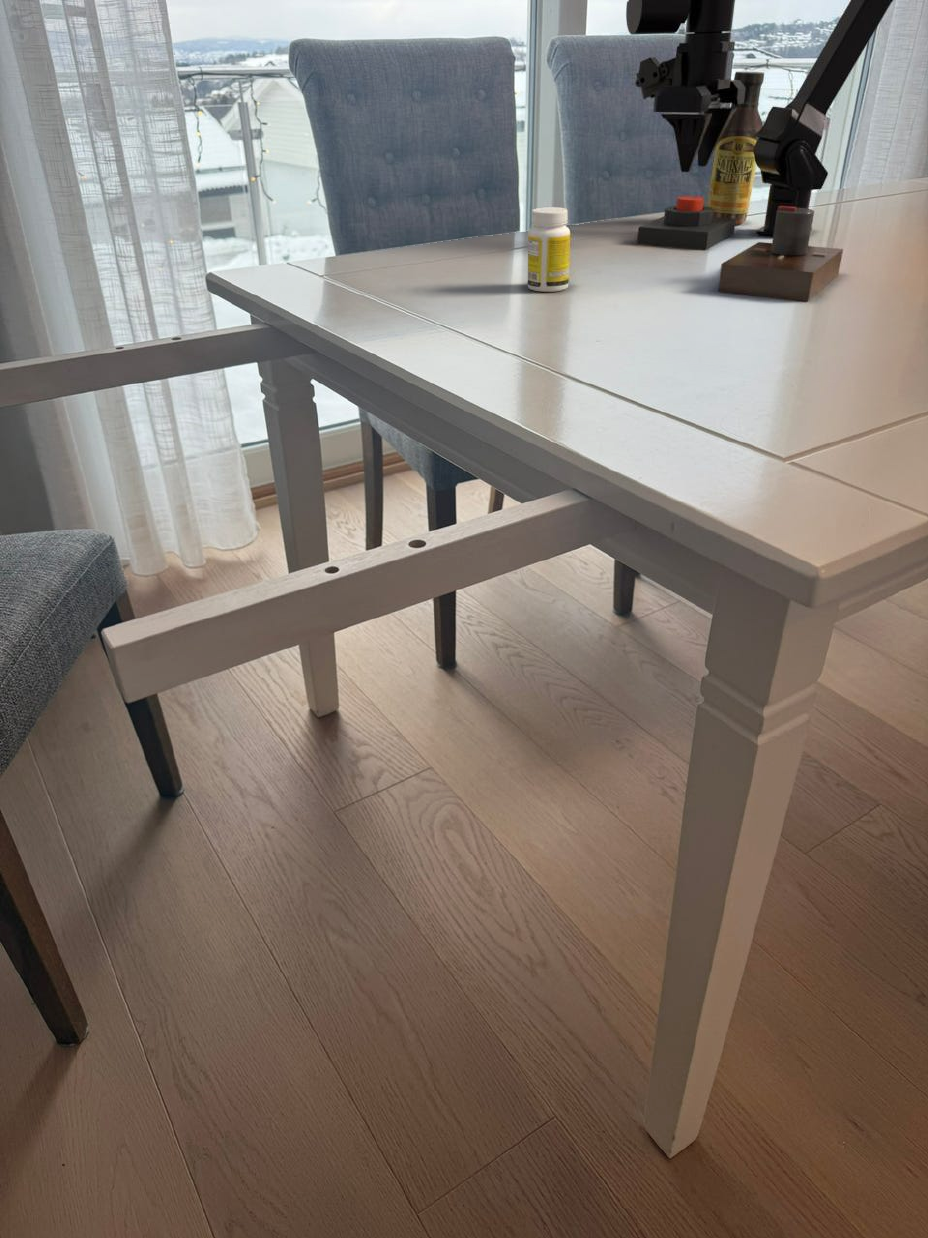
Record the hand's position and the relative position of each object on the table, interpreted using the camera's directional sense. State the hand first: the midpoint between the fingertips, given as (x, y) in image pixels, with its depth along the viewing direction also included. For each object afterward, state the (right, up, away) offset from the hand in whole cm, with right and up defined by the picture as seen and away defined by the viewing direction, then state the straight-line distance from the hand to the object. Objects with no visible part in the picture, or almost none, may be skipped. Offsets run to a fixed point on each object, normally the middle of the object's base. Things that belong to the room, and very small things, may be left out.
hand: (693, 168), depth 123 cm
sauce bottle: (+9, -1, +15) cm, 18 cm away
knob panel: (+5, -23, -18) cm, 30 cm away
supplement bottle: (-22, -23, -18) cm, 36 cm away
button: (0, -4, +3) cm, 5 cm away
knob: (+6, -19, -19) cm, 27 cm away
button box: (0, -8, +5) cm, 9 cm away
